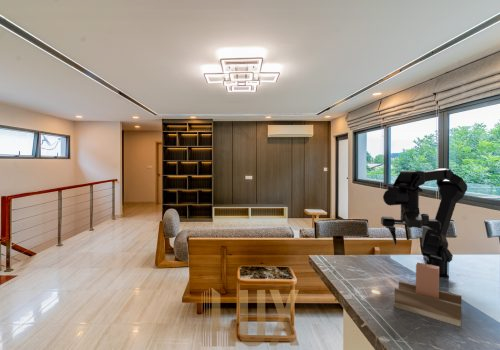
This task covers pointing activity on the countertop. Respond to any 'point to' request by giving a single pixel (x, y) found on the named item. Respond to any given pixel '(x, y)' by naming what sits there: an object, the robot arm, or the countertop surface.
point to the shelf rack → (429, 304)
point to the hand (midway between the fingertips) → (409, 245)
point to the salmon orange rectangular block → (427, 280)
